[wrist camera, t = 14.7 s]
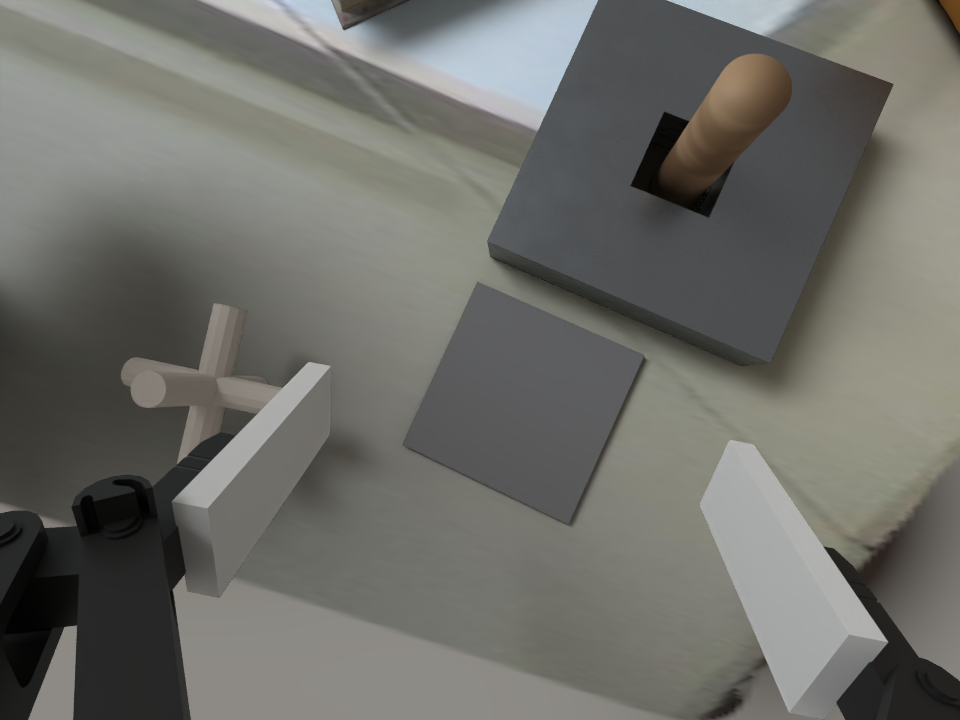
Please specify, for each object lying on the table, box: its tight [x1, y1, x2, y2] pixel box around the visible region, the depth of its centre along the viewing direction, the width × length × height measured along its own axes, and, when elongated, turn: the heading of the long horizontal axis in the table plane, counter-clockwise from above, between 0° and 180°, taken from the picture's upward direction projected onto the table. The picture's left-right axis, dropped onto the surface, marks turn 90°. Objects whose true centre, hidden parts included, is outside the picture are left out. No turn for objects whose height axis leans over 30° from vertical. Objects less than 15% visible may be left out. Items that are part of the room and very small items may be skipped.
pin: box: [649, 54, 792, 209], centre depth 27 cm, size 3×3×11 cm
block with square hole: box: [487, 0, 893, 366], centre depth 31 cm, size 18×18×4 cm
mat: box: [403, 282, 644, 524], centre depth 32 cm, size 12×12×1 cm
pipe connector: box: [121, 303, 282, 464], centre depth 29 cm, size 10×10×10 cm
